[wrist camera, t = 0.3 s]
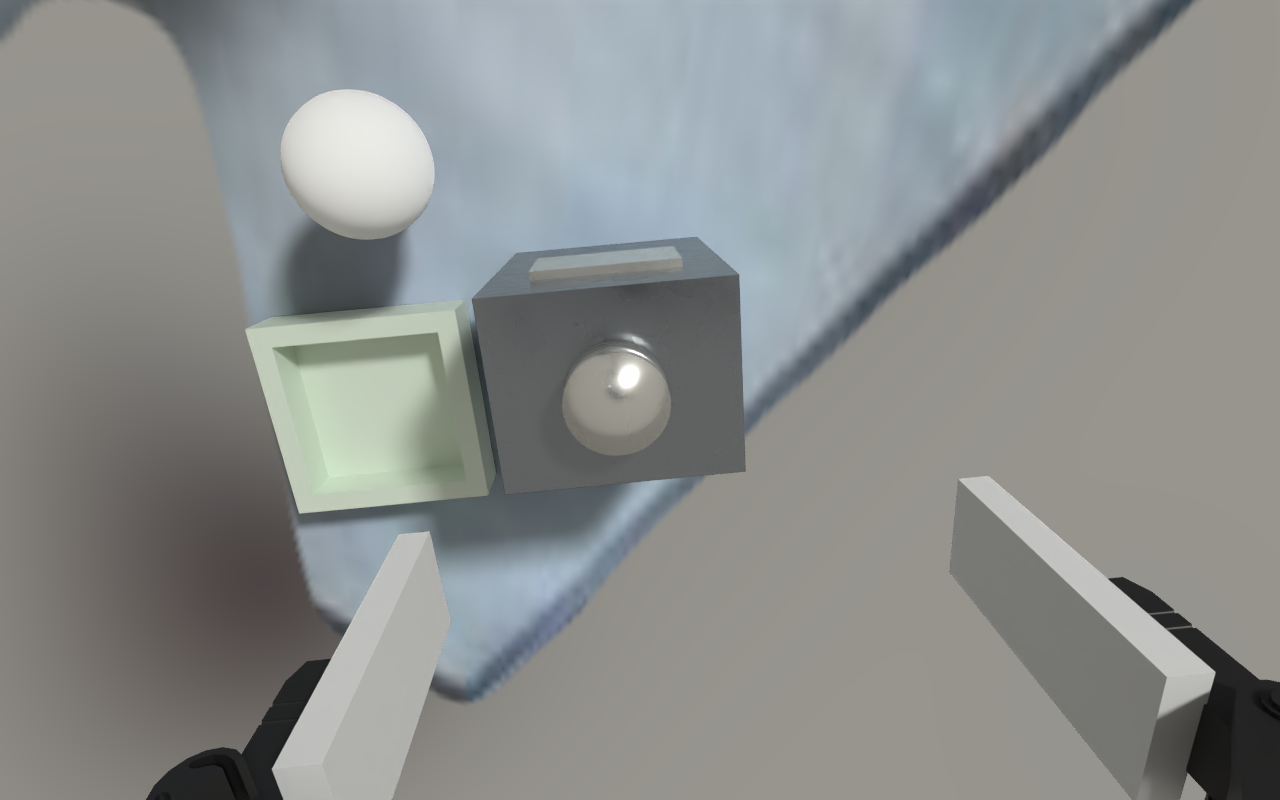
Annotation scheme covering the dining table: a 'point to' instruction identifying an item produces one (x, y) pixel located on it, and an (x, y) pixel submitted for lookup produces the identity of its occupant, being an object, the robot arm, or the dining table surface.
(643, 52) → the dining table surface
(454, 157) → the dining table surface
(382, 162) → the light bulb
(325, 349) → the tray
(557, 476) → the housing
